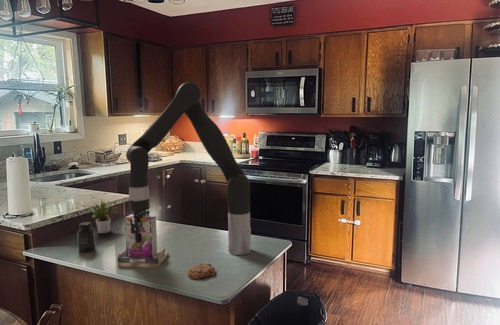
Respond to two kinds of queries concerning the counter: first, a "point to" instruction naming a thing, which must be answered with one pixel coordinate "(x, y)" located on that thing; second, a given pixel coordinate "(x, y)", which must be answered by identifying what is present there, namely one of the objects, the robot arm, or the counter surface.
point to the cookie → (201, 271)
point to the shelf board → (141, 259)
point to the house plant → (103, 217)
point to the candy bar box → (147, 235)
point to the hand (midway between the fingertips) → (141, 239)
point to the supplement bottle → (86, 237)
